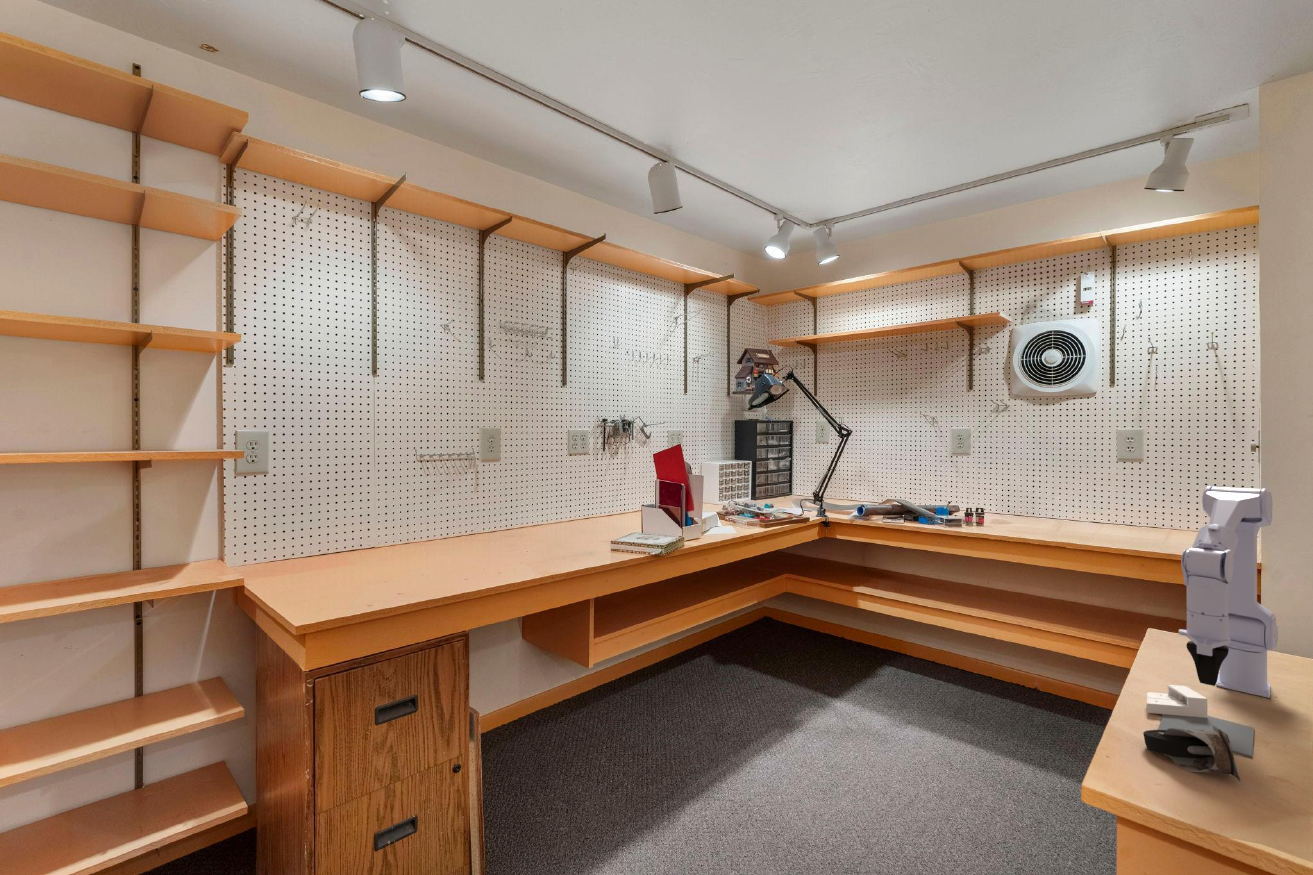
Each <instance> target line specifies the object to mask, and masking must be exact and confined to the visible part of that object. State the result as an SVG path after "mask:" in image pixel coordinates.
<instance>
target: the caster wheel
mask: <svg viewBox="0 0 1313 875" xmlns="http://www.w3.org/2000/svg"><path fill="white" fill-rule="evenodd" d="M1213 730H1214V731H1209V730H1194V729H1178V728H1169V729H1167V730H1158V729H1149V730H1145V731H1143V732H1142V734H1143V739H1144V744H1145V747H1146V749H1147V750H1148V751H1151V752H1153V753H1156V754H1160V755H1163V756H1169V758H1170V759H1171V760H1172V762H1173V763H1175V765H1177V766H1178V767H1180V768H1181V769H1183V770H1186V771H1188V772H1196V773H1207V774H1217V775H1228V776H1229V775H1231V776H1232V777H1233V778H1235V779H1236V780H1237V781H1239V782H1241V778H1240V777H1241V776H1240V773H1239V769H1238V767H1237V766H1238V765H1237V762H1236V758H1235V755H1234V753H1233V751H1232V748H1231V744H1230V740H1229V737H1228V734H1227V733H1225V732H1223V731H1222V730H1220V729H1218V728H1217V727H1215V726H1213Z"/></svg>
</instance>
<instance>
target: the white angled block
mask: <svg viewBox="0 0 1313 875" xmlns="http://www.w3.org/2000/svg"><path fill="white" fill-rule="evenodd" d="M1146 696H1147V697H1146V713H1147V714H1158V715H1164V714H1168V715H1180V716H1191V717H1203V718H1207V716H1208V698H1207V697H1205V696H1203V695H1202V694H1200V693H1199V692H1198V691H1197V692H1196V691H1195V690H1194V689H1191V688H1190V687H1189V686H1187V685H1177V684H1173V685H1172V684H1167V693H1162V692H1152V691H1151V692H1149V691H1148V692H1147V694H1146Z"/></svg>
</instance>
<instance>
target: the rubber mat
mask: <svg viewBox="0 0 1313 875" xmlns="http://www.w3.org/2000/svg"><path fill="white" fill-rule="evenodd" d="M1213 726H1215V727H1217V728H1218V729H1220V730H1222V731H1223V732H1225V733H1227V734H1228V737H1229V740H1230V744H1231V748H1232V751H1233V754H1236V755H1238V756H1242V757H1246V758H1249V759H1253V754H1254V752H1253V751H1254V738H1255V727H1253V726H1249V725H1246V724H1241V723H1239V722H1238V723H1237V722H1233V721H1230V720H1225V719H1222V718H1218V717H1215V716H1210V715H1207V718H1203V717H1191V716H1180V715H1168V714H1162V718H1161V721H1160V723H1159V725H1158V728H1157V730H1167V729H1169V728H1178V729H1194V730H1209V731H1214V730H1213Z"/></svg>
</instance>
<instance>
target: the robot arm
mask: <svg viewBox="0 0 1313 875" xmlns="http://www.w3.org/2000/svg"><path fill="white" fill-rule="evenodd" d="M1201 498H1202V501H1201V502H1202V509H1203V511H1204V512H1205V513H1206V515H1207V516H1208V517H1209V518H1210V519H1209V522H1208V524H1207V525H1204V526H1202V527H1200V529H1199V530H1198V532H1197V535H1196V536H1195V539H1194V542H1193V544H1192V547H1190V548H1188V549H1184V550H1183V552H1182V555H1181V559H1180V560H1181V561H1180V563H1181V564H1180V566H1181V571H1182V576H1183V584H1184V586H1186V629H1181V628H1180V629H1178V635H1179V636H1184V637H1187V639H1189V640H1188V641H1187V643H1186V644H1185V646H1186V649H1187V651H1188V652H1189V654H1190V656H1191V658H1192V660H1193V662H1194V666H1195V669H1196V675H1197V678H1198V680H1199V683H1200V684H1204V685H1209V686H1212V687H1215V686H1217V687H1220V688H1224V689H1229V690H1233V691H1237V692H1241V693H1245V694H1250V695H1256V696H1259V697H1264V698H1271V683H1270V682H1268V652H1269V651H1271V652H1272V651H1273V650H1275V649H1276V648H1277V646H1278V639H1279V631H1278V629H1279V628H1278V625H1277V617H1276V616H1275V613H1274V612H1272V611H1271V610H1270V609H1268V608H1266V607H1265V606H1263V605H1262V604H1260V602H1258V534H1259V531H1260V529H1261V528H1264V527H1268V526H1269V527H1270V526H1271V525H1272V522H1273V496H1272V492H1271V491H1270V490H1269V489H1268V488H1263V487H1262V488H1248V487H1227V486H1223V487H1222V486H1212V485H1208V486H1207V487H1205V488H1204V489H1203V492H1202V496H1201Z"/></svg>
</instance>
